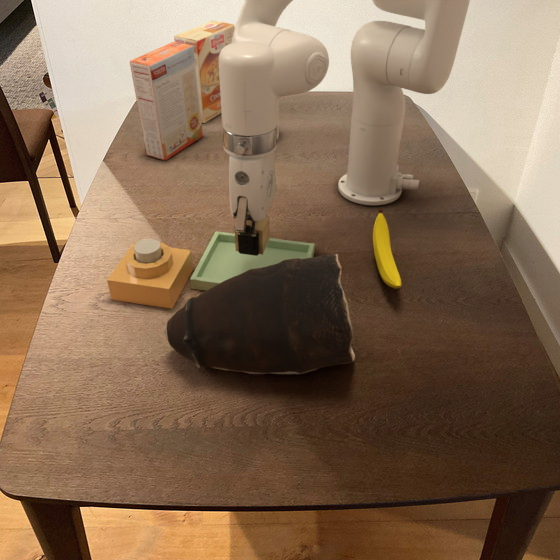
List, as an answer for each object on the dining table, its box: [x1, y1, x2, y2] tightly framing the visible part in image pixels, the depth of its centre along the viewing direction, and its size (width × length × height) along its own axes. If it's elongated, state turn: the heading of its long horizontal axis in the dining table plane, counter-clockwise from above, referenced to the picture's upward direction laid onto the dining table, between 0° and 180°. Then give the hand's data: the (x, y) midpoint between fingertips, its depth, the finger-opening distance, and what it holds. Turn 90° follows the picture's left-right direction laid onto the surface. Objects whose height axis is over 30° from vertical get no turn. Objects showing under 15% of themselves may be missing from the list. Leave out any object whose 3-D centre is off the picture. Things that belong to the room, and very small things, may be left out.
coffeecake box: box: [173, 20, 236, 124], centre depth 140 cm, size 15×7×20 cm, turn 149°
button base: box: [106, 241, 195, 310], centre depth 91 cm, size 10×10×6 cm
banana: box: [372, 208, 402, 289], centre depth 93 cm, size 3×19×6 cm, turn 1°
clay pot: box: [164, 253, 356, 375], centre depth 78 cm, size 15×15×25 cm
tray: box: [189, 230, 316, 292], centre depth 95 cm, size 18×14×2 cm
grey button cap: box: [134, 238, 162, 264], centre depth 89 cm, size 4×4×2 cm
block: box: [233, 213, 271, 255], centre depth 91 cm, size 4×4×4 cm
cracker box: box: [129, 41, 204, 161], centre depth 124 cm, size 14×6×21 cm, turn 149°
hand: (253, 243), depth 92 cm, fingers closed on block, 4 cm apart
